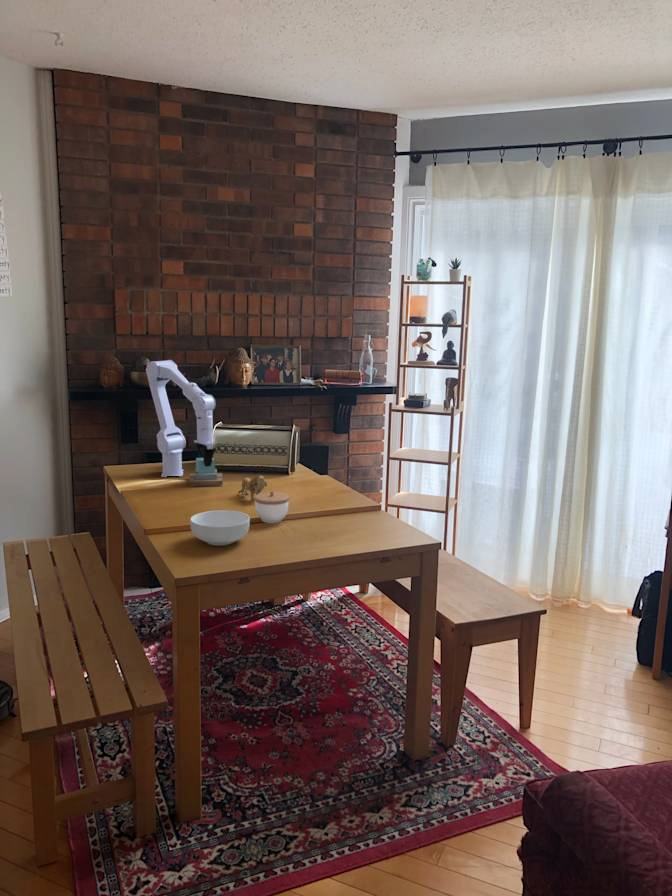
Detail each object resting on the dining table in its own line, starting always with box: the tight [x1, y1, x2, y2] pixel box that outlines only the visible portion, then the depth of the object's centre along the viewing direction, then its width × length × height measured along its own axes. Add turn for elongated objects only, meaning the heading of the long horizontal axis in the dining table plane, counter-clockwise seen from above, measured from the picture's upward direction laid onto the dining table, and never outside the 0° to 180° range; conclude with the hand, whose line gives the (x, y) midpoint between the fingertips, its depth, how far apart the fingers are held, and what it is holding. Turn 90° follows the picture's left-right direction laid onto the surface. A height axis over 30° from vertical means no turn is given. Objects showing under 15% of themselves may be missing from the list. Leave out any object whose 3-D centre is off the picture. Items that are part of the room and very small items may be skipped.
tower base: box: [188, 468, 223, 487], centre depth 275 cm, size 12×12×4 cm
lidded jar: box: [254, 490, 290, 524], centre depth 231 cm, size 11×11×9 cm
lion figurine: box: [238, 475, 269, 503], centre depth 255 cm, size 15×5×9 cm, turn 45°
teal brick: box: [195, 457, 216, 474], centre depth 274 cm, size 4×6×5 cm
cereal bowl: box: [189, 509, 251, 547], centre depth 211 cm, size 17×17×7 cm
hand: (205, 464), depth 274 cm, fingers open, 6 cm apart
